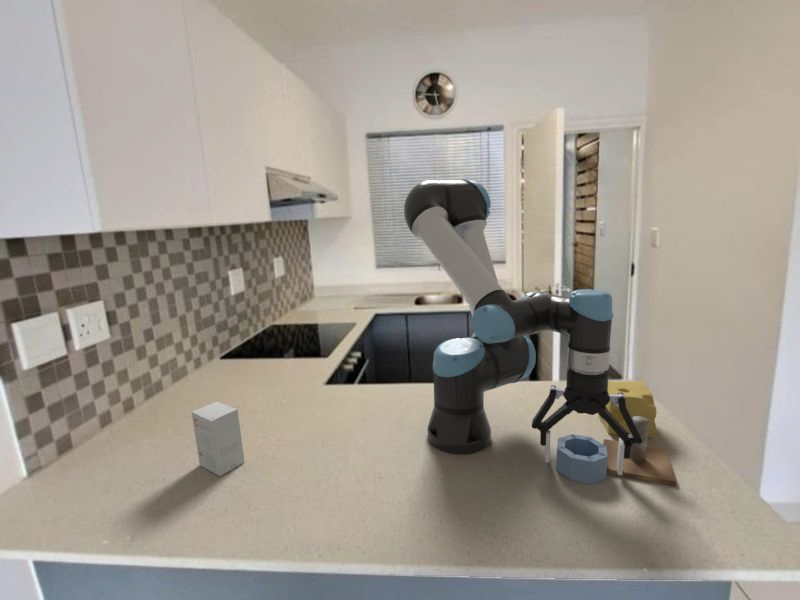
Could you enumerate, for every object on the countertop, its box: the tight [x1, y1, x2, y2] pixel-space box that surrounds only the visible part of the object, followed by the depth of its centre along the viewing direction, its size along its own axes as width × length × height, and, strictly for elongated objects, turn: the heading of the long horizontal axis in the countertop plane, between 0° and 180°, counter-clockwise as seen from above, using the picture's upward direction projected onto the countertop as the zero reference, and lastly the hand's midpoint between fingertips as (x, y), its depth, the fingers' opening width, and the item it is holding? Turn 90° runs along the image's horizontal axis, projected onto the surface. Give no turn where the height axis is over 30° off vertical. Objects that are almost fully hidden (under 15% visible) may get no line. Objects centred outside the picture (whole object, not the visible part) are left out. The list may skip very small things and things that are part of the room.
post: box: [603, 416, 677, 487], centre depth 88 cm, size 12×12×10 cm
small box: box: [191, 401, 245, 477], centre depth 93 cm, size 8×6×13 cm
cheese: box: [597, 380, 657, 439], centre depth 103 cm, size 10×11×10 cm
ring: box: [555, 433, 608, 485], centre depth 87 cm, size 9×9×5 cm
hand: (582, 465), depth 87 cm, fingers open, 13 cm apart
